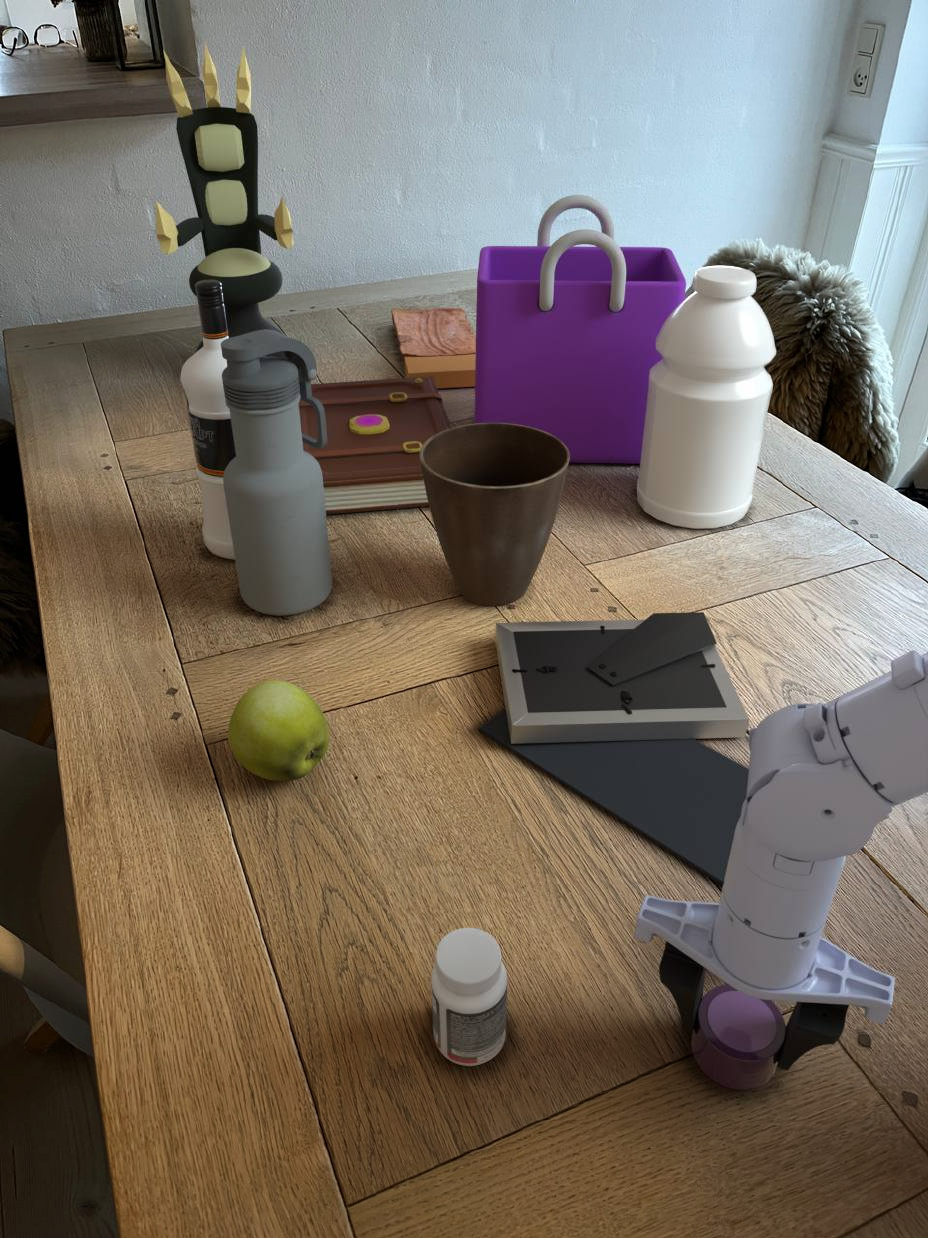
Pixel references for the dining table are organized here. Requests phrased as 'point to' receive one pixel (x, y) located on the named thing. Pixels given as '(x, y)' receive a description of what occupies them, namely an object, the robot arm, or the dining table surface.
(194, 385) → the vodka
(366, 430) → the book
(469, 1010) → the pill bottle
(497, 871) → the dining table surface
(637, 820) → the placemat
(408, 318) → the wooden flat board
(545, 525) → the plant pot
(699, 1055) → the aubergine dish
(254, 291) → the throne chair
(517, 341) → the shopping bag
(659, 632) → the picture frame
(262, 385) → the water bottle
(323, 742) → the apple
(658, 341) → the bottle
